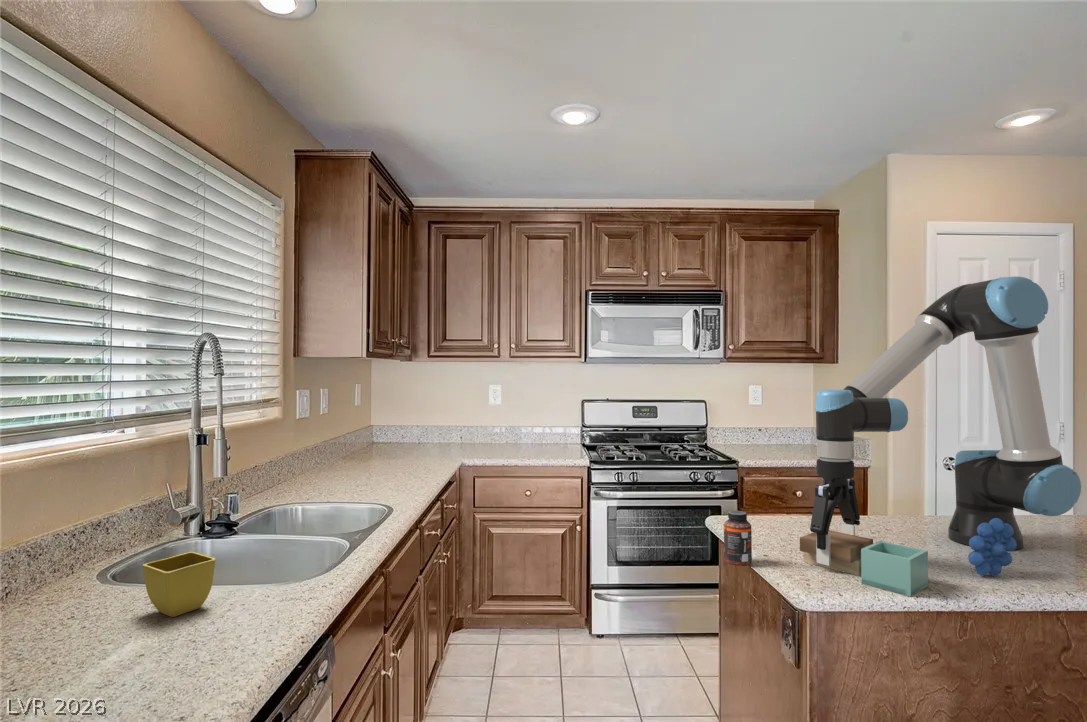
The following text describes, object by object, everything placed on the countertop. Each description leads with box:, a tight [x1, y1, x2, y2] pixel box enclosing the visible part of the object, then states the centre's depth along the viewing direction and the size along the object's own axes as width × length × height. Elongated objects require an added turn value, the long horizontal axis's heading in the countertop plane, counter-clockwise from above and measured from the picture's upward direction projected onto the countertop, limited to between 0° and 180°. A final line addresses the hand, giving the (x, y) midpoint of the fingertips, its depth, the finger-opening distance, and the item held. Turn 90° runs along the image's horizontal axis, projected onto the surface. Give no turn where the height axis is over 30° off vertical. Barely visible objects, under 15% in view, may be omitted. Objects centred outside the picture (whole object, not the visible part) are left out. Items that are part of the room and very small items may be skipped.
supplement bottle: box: [723, 510, 753, 567], centre depth 134 cm, size 6×6×11 cm
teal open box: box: [860, 540, 929, 598], centre depth 120 cm, size 9×9×7 cm
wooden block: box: [802, 552, 861, 576], centre depth 132 cm, size 6×12×3 cm, turn 39°
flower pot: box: [142, 551, 216, 618], centre depth 108 cm, size 9×9×9 cm
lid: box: [799, 529, 874, 563], centre depth 132 cm, size 11×11×3 cm
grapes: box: [967, 518, 1017, 577], centre depth 126 cm, size 12×7×12 cm, turn 103°
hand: (836, 558), depth 132 cm, fingers closed on lid, 11 cm apart
